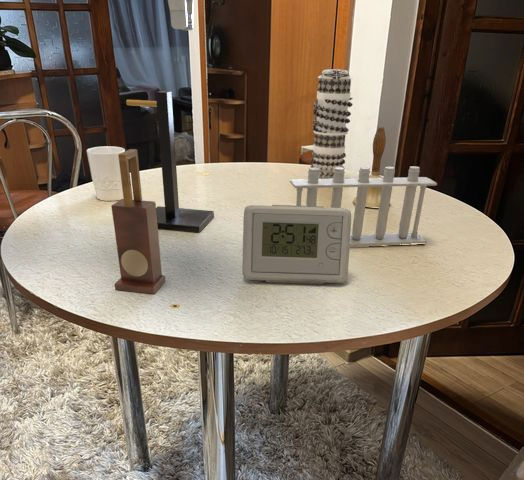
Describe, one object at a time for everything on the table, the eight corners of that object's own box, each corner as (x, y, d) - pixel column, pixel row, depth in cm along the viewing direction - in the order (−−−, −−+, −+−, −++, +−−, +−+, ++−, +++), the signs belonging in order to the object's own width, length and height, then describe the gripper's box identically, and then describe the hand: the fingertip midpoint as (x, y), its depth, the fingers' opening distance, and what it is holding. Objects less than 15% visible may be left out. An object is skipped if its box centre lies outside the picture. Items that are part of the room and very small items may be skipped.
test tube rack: (415, 236, 96) (429, 164, 89) (425, 245, 93) (440, 170, 86) (285, 241, 93) (289, 165, 86) (290, 249, 89) (295, 172, 82)
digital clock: (237, 282, 77) (236, 212, 72) (251, 260, 85) (252, 195, 79) (344, 294, 75) (352, 223, 69) (349, 271, 82) (357, 204, 76)
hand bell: (390, 210, 110) (403, 131, 102) (352, 207, 112) (361, 128, 103) (389, 199, 117) (401, 124, 109) (353, 197, 119) (361, 122, 110)
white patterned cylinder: (351, 181, 131) (363, 70, 117) (330, 188, 125) (341, 72, 111) (322, 175, 136) (331, 68, 122) (301, 181, 130) (307, 69, 116)
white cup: (101, 191, 118) (94, 145, 112) (134, 193, 117) (129, 147, 112) (88, 201, 111) (80, 152, 106) (123, 202, 111) (117, 154, 105)
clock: (114, 289, 74) (95, 155, 64) (128, 276, 78) (112, 147, 68) (154, 294, 73) (140, 158, 63) (166, 280, 77) (155, 150, 67)
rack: (129, 226, 98) (113, 92, 85) (149, 211, 106) (137, 87, 94) (199, 232, 96) (193, 96, 83) (214, 216, 104) (210, 90, 92)
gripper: (155, -97, 65) (167, 31, 72) (126, -146, 48) (145, 28, 55) (205, -97, 65) (212, 30, 73) (193, -147, 48) (204, 27, 55)
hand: (183, 29), depth 64 cm, fingers open, 8 cm apart
